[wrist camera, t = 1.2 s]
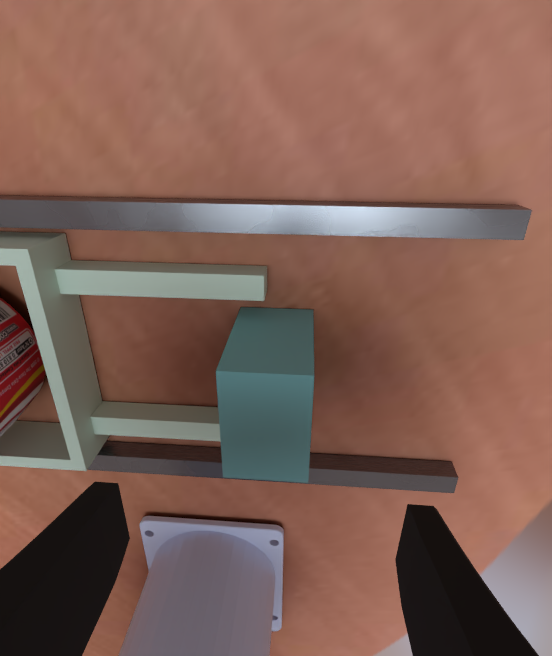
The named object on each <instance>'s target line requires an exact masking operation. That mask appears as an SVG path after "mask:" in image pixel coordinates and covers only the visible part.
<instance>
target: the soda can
mask: <svg viewBox="0 0 552 656" xmlns="http://www.w3.org/2000/svg"><path fill="white" fill-rule="evenodd" d="M44 377H45V367H44V364H43V360H42V357H41V353H40V350H39V346H38V343H37V339H36V336H35V333H34V332H33V330H32V329H31V327H30V326H29V324H28V323H27V322H26V321H25V320H24V319H23V317H22V316H21V315H20V314H19V313H18V312H17V311H16V310H15V309H14V308H13V307H12V306H10V305H9V304H8V303H7V302H5V301H4V300H3V299H1V298H0V437H1V436H2V435H3V434H4V433H5V432H6V431H7V429H8V428H9V427H10V426H11V425H12V424H13V423H14V422H15V421H16V420H17V419H18V417H19V416H20V415H21V414H22V412H23V411H24V410H25V409H26V407H27V406H28V405H29V404H30V402H31V401H32V400H33V399H34V397H35V396H36V395H37V394H38V392H39V391H40V389H41V387H42V385H43V381H44Z"/></svg>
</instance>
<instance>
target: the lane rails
mask: <svg viewBox="0 0 552 656" xmlns="http://www.w3.org/2000/svg"><path fill="white" fill-rule="evenodd" d="M531 211H532V210H531V209H528V208H525V207H522V206H520V205H496V204H443V203H390V202H337V201H285V200H232V199H179V198H126V197H73V196H20V195H0V227H9V228H50V229H92V230H133V231H174V232H215V233H256V234H297V235H338V236H379V237H421V238H462V239H503V240H524V237H525V233H526V230H527V226H528V222H529V219H530V215H531ZM87 470H101V471H117V472H133V473H148V474H164V475H179V476H195V477H210V478H225V477H223V470H222V455H221V448H214V447H197V446H180V445H163V444H147V443H130V442H113V441H106V442H105V443H104V445H103V446H102V448H101V450H100V451H99V453H98V454H97V456H96V457H95V459H94V460H93V462H92V463H91V465H90V466H89V468H88V469H87ZM226 479H240V478H226ZM242 480H256V479H242ZM457 480H458V476H457V473H456V471H455V468H454V466H453V464H452V462H450V461H433V460H416V459H400V458H383V457H366V456H349V455H332V454H315V453H310V461H309V479H308V483H304V484H319V485H335V486H351V487H366V488H382V489H397V490H413V491H428V492H444V493H454V491H455V488H456V484H457ZM257 481H272V480H257ZM273 482H287V481H273ZM288 483H303V482H288Z"/></svg>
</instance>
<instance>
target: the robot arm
mask: <svg viewBox="0 0 552 656" xmlns="http://www.w3.org/2000/svg"><path fill="white" fill-rule="evenodd" d="M140 531H141V536H142V541H143V545H144V550H145V555H146V560H147V565H148V570H149V573H148V576H147V579H146V581H145V584H144V587H143V590H142V592H141V595H140V598H139V601H138V603H137V606H136V609H135V612H134V614H133V617H132V620H131V623H130V625H129V628H128V631H127V634H126V636H125V639H124V642H123V644H122V647H121V650H120V653H119V655H118V656H270V643H271V631H279V630H280V629H281V627H282V593H283V547H284V530H283V528H282V527H280V526H278V525H273V524H259V523H245V522H231V521H217V520H203V519H189V518H175V517H161V516H145V517H143V518H142V520H141V522H140ZM129 539H130V537H129V532H128V528H127V523H126V518H125V513H124V509H123V504H122V499H121V495H120V490H119V485H118V483H105V482H94V483H93V484H92V485H91V486H90V487H88V488H87V489H86V490H85V491H84V492H83V493H82V494H81V495H80V496H79V497H78V498H77V499H76V500H75V501H74V502H73V503H72V504H71V505H70V506H68V507H67V508H66V509H65V510H64V511H63V512H62V513H61V514H60V515H59V516H58V517H57V518H56V519H55V520H54V521H53V522H52V523H51V524H50V525H49V526H47V527H46V528H45V529H44V530H43V531H42V532H41V533H40V534H39V535H38V536H37V537H36V538H35V539H33V540H32V541H31V542H30V543H29V544H28V545H27V546H26V547H25V548H24V549H23V550H21V551H20V552H19V553H18V554H17V555H16V556H15V557H14V558H13V559H12V560H11V561H9V562H8V563H7V564H6V565H5V566H4V567H3V568H1V569H0V656H82V654H83V652H84V650H85V648H86V646H87V643H88V641H89V639H90V637H91V635H92V632H93V630H94V628H95V626H96V624H97V621H98V619H99V617H100V615H101V613H102V610H103V608H104V606H105V604H106V602H107V599H108V597H109V595H110V593H111V590H112V588H113V586H114V584H115V581H116V578H117V575H118V572H119V570H120V567H121V564H122V561H123V558H124V555H125V551H126V548H127V545H128V542H129ZM396 567H397V575H398V583H399V591H400V598H401V605H402V610H403V614H404V619H405V623H406V628H407V632H408V636H409V641H410V645H411V649H412V653H413V656H539V655H538V654H537V653H536V652H535V650H534V649H533V648H532V646H531V645H530V644H529V643H528V641H527V640H526V638H525V637H524V636H523V635H522V634H521V632H520V631H519V630H518V628H517V627H516V625H515V624H514V623H513V622H512V620H511V619H510V617H509V616H508V615H507V613H506V612H505V611H504V609H503V608H502V607H501V605H500V604H499V602H498V601H497V599H496V598H495V597H494V595H493V594H492V592H491V591H490V590H489V588H488V587H487V585H486V584H485V583H484V581H483V580H482V578H481V577H480V575H479V574H478V572H477V571H476V570H475V568H474V567H473V565H472V564H471V562H470V561H469V559H468V558H467V556H466V555H465V553H464V552H463V550H462V549H461V547H460V545H459V544H458V542H457V541H456V539H455V538H454V536H453V535H452V533H451V531H450V530H449V528H448V527H447V525H446V524H445V522H444V520H443V519H442V517H441V515H440V514H439V512H438V511H437V509H436V508H435V507H434V506H424V505H411V504H408V505H407V510H406V514H405V519H404V523H403V528H402V533H401V537H400V542H399V546H398V551H397V555H396Z"/></svg>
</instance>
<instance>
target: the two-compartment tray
mask: <svg viewBox="0 0 552 656" xmlns="http://www.w3.org/2000/svg"><path fill="white" fill-rule="evenodd" d="M0 265H13V266H16V269H17V272H18V276H19V279H20V283H21V286H22V290H23V293H24V297H25V300H26V304H27V307H28V311H29V315H30V318H31V322H32V325H33V329H34V332H35V336H36V339H37V343H38V346H39V350H40V353H41V357H42V360H43V364H44V367H45V371H46V374H47V378H48V382H49V385H50V389H51V392H52V396H53V399H54V403H55V406H56V410H57V413H58V417H59V420H60V423H49V422H32V421H15V422H14V423H13V424H12V425H11V426H10V427H9V428H8V429H7V431H6V432H5V433H4V434H3V435H2V436H1V437H0V465H1V466H17V467H32V468H48V469H63V470H79V471H87V469H88V468H89V466H90V465H91V463H92V462H93V460H94V459H95V457H96V456H97V454H98V453H99V451H100V450H101V448H102V446H103V445H104V443H105V442H106V440H107V439H108V437H109V436H110V435H118V436H135V437H153V438H170V439H187V440H204V441H221V455H222V470H223V477H225V478H240V479H256V480H272V481H287V482H303V483H308V479H309V461H310V443H311V426H312V408H313V390H314V319H313V310H310V309H283V308H255V307H241V308H240V310H239V313H238V316H237V318H236V321H235V323H234V326H233V328H232V331H231V333H230V336H229V339H228V341H227V344H226V346H225V349H224V351H223V354H222V356H221V359H220V362H219V364H218V367H217V369H216V382H217V397H218V407H204V406H185V405H166V404H147V403H128V402H109V401H102V397H101V393H100V388H99V384H98V379H97V375H96V370H95V366H94V361H93V357H92V352H91V347H90V343H89V338H88V334H87V329H86V325H85V320H84V316H83V311H82V307H81V302H80V297H79V294H80V295H108V296H137V297H165V298H194V299H222V300H250V301H264V300H265V296H266V292H267V266H253V265H219V264H186V263H152V262H118V261H84V260H71V257H70V252H69V247H68V243H67V238H66V234H65V233H42V232H2V231H0Z"/></svg>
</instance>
